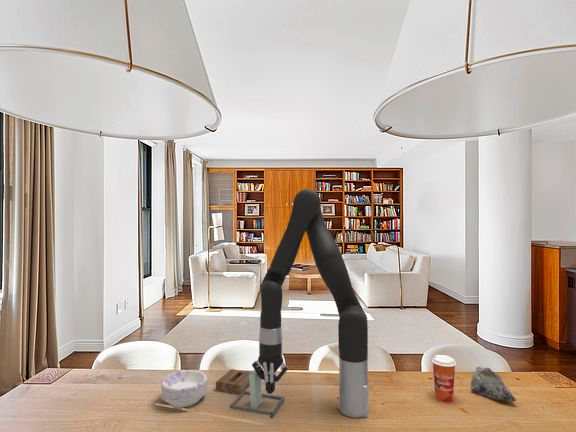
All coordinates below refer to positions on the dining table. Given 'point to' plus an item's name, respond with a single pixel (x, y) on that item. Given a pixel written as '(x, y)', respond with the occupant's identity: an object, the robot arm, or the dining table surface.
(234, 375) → the walnut slotted block
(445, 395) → the paper cup
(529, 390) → the dining table surface
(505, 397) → the mineral rock
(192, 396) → the paper bowls
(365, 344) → the robot arm
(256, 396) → the pale green rectangular block
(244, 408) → the charcoal tray
